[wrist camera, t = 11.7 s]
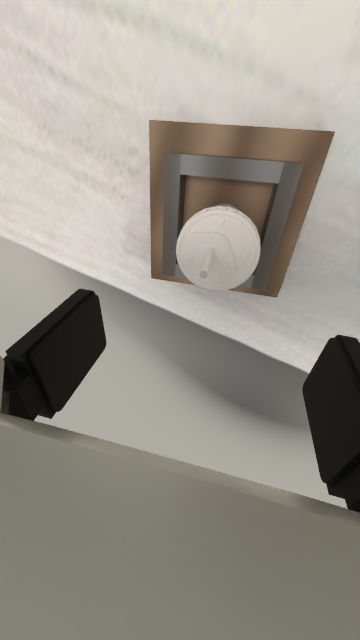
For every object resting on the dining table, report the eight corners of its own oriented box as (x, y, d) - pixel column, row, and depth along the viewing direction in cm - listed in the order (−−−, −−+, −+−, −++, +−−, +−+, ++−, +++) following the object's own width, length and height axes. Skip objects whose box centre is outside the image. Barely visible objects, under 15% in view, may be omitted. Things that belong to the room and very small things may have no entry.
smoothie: (224, 172, 23) (208, 198, 12) (269, 219, 25) (290, 281, 14) (182, 223, 27) (140, 280, 16) (223, 262, 28) (211, 338, 17)
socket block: (329, 132, 21) (347, 130, 18) (275, 291, 31) (280, 310, 27) (154, 121, 23) (137, 117, 20) (154, 273, 33) (143, 288, 29)
